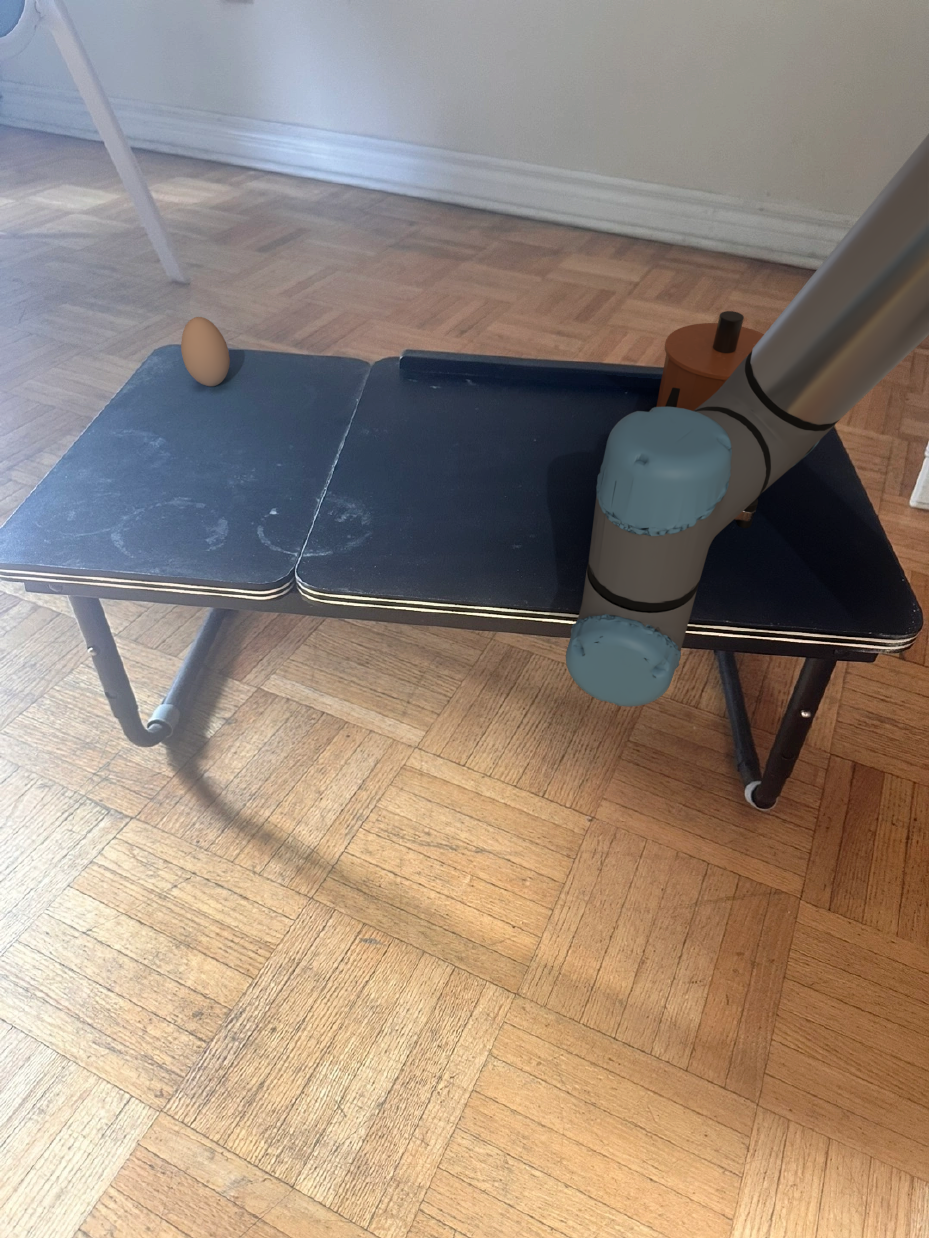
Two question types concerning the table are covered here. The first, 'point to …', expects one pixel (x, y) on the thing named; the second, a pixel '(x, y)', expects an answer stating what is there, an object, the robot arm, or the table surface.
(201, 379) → the egg
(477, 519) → the table surface
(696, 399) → the pot
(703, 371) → the pot lid
